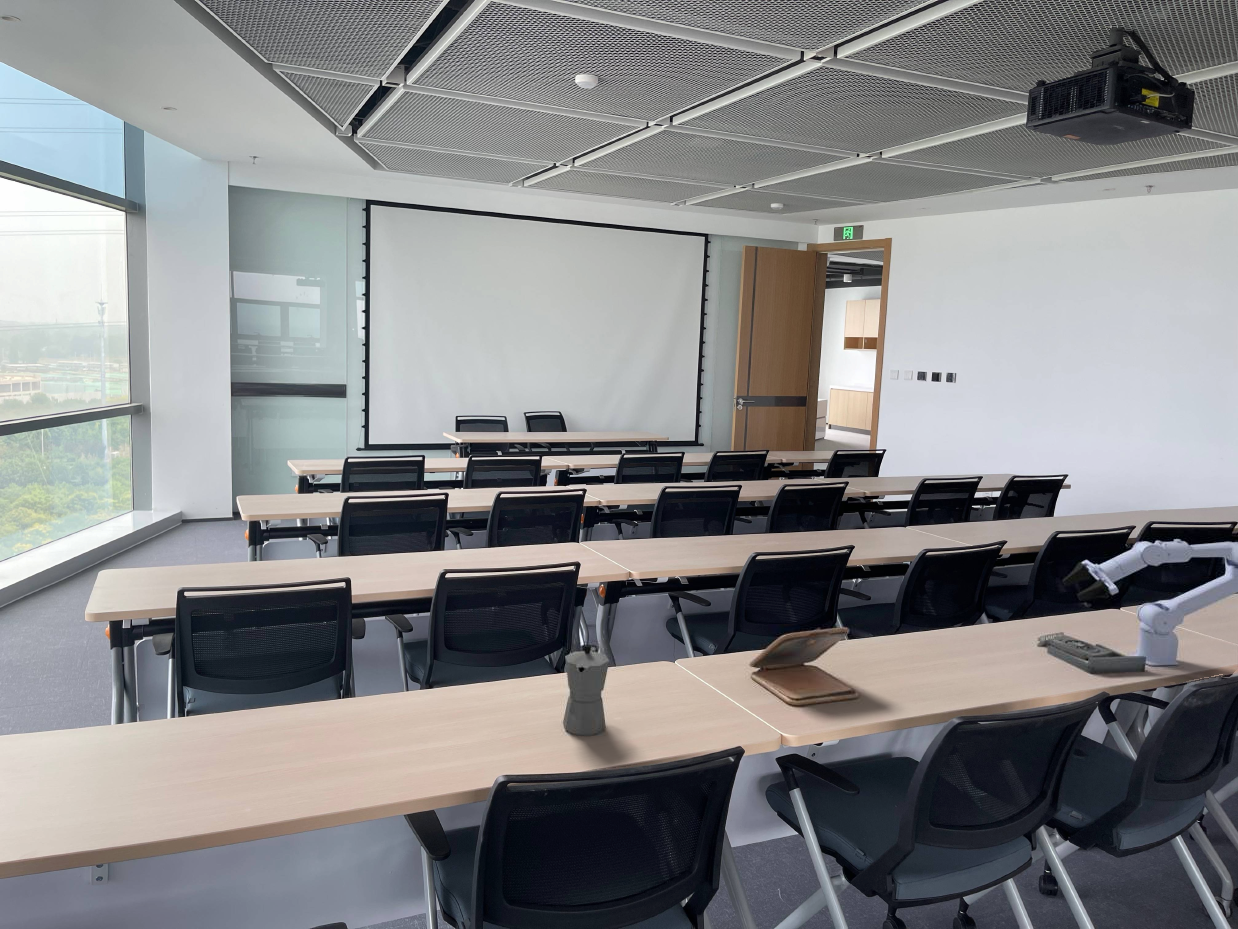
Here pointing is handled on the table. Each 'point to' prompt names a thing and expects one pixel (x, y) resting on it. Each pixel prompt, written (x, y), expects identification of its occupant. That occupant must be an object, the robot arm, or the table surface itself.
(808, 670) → the case
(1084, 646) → the graphics card
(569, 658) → the coffeepot
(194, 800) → the table surface
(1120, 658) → the mounting bracket
